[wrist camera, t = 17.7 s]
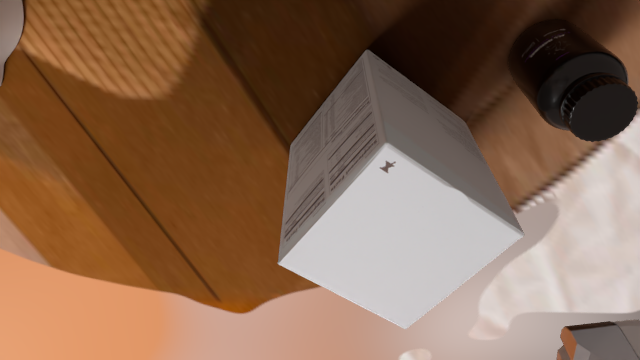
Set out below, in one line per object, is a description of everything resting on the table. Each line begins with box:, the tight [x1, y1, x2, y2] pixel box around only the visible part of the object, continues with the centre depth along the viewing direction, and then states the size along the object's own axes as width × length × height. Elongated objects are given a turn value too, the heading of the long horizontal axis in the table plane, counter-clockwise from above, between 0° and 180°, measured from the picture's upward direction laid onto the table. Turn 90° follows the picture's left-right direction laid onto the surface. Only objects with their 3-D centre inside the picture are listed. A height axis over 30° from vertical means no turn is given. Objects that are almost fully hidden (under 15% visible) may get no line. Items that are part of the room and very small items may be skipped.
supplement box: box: [278, 50, 524, 329], centre depth 43 cm, size 13×13×18 cm
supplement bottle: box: [509, 19, 638, 142], centre depth 40 cm, size 7×7×12 cm
